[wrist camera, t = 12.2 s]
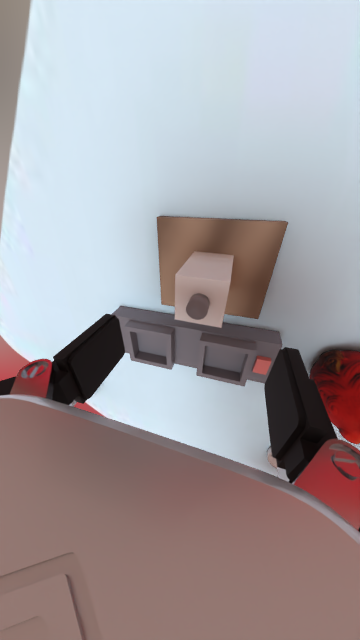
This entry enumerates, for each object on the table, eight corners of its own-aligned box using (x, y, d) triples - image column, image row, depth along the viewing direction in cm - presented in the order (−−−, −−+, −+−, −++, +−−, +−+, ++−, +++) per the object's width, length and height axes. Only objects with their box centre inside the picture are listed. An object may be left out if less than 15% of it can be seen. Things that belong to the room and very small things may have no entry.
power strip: (278, 331, 23) (285, 354, 19) (263, 369, 27) (266, 393, 23) (120, 306, 27) (104, 320, 24) (127, 341, 31) (114, 357, 28)
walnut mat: (285, 221, 16) (288, 222, 16) (257, 314, 22) (258, 318, 21) (160, 216, 19) (156, 217, 18) (164, 300, 25) (161, 304, 24)
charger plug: (233, 255, 18) (229, 289, 12) (226, 291, 20) (220, 336, 14) (194, 251, 19) (170, 281, 12) (192, 286, 21) (170, 327, 15)
